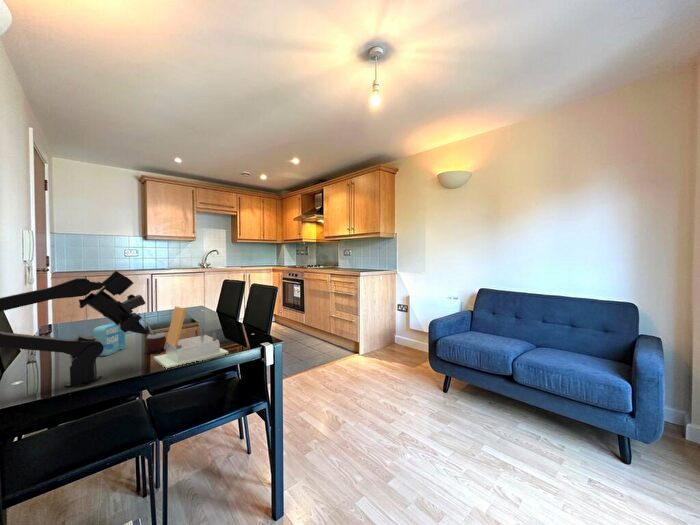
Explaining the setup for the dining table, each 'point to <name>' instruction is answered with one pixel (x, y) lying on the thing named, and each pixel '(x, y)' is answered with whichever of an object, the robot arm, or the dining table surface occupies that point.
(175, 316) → the thin wooden panel
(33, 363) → the dining table surface
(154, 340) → the mate gourd
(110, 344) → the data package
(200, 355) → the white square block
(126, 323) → the robot arm
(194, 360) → the board
